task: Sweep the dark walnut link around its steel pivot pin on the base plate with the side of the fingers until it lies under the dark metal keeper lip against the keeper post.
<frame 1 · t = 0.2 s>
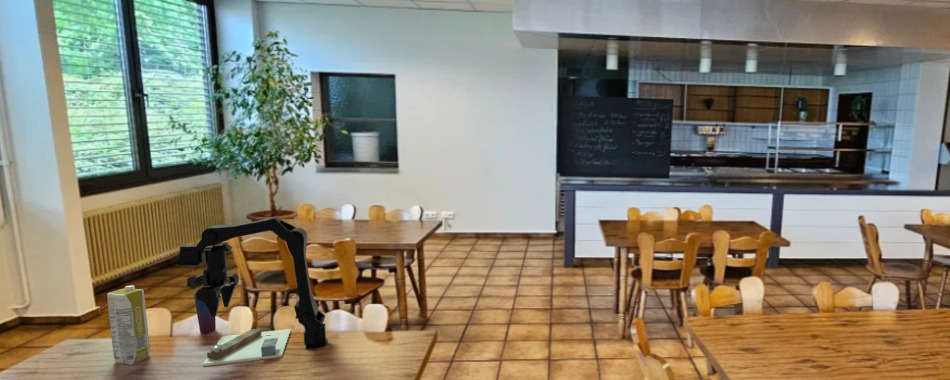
hand: (220, 311, 160), 14 cm above the table, tool pointing down, fingers open, 9 cm apart
juice carton: (132, 360, 159), on the table
link: (235, 343, 165), point 2 cm above the table, hinge at 60.0°
cup: (208, 331, 181), on the table
base plate: (250, 347, 166), on the table
keeper: (270, 354, 160), resting on base plate
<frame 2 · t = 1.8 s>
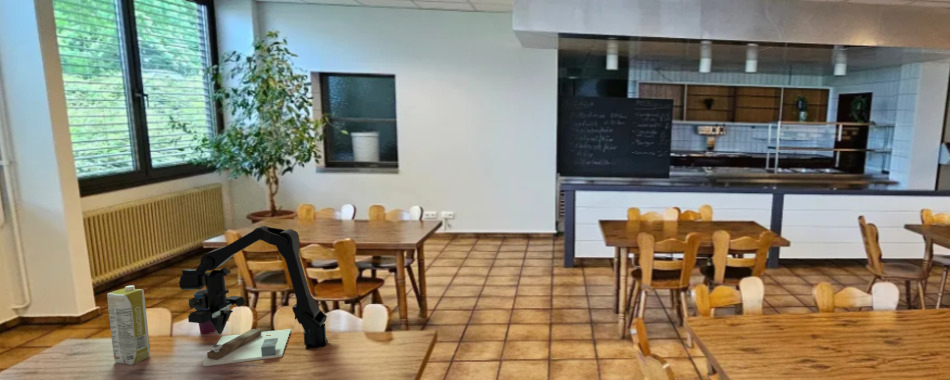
hand: (219, 333, 165), 5 cm above the table, tool pointing down, fingers closed
nothing on the table moved.
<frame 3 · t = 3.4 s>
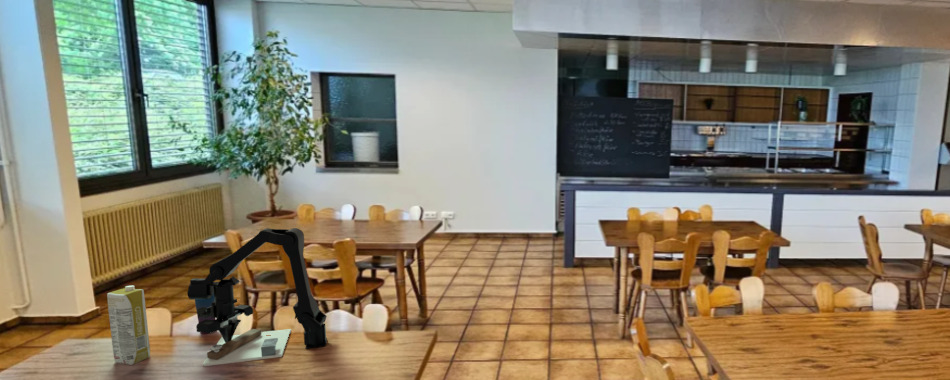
hand: (227, 343, 165), 2 cm above the table, tool pointing down, fingers closed, pressing on link
link: (235, 343, 165), point 2 cm above the table, hinge at 60.0°, touching gripper
everything else where it was.
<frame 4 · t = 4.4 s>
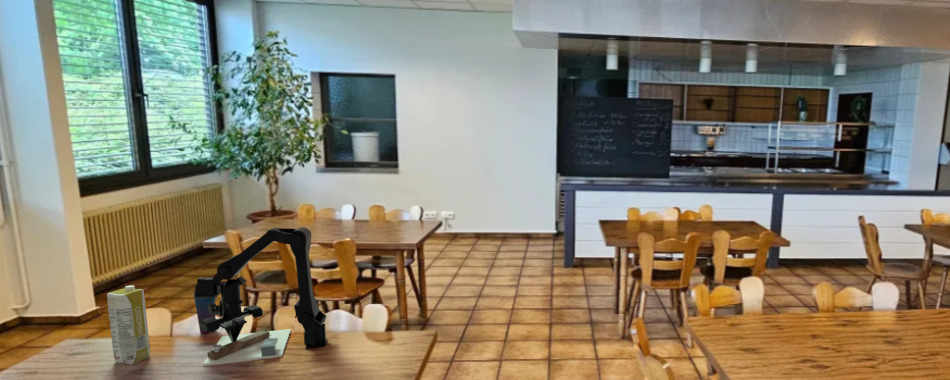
hand: (233, 342, 165), 2 cm above the table, tool pointing down, fingers closed
link: (240, 344, 164), point 2 cm above the table, hinge at 46.0°, touching gripper
everything else where it was.
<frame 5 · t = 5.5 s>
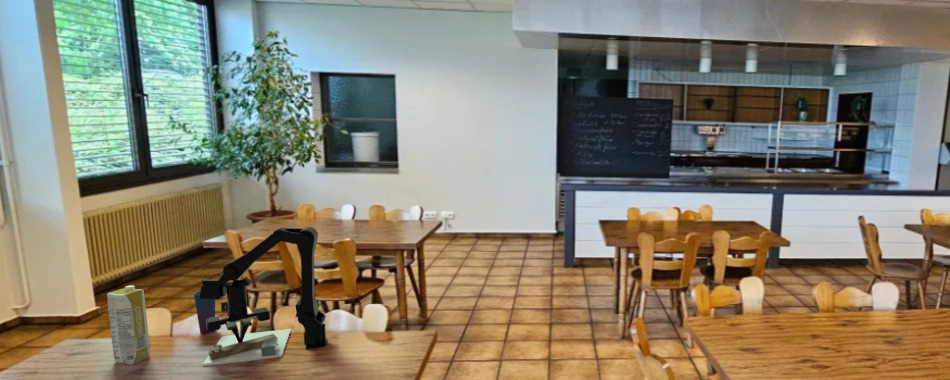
hand: (240, 343, 164), 2 cm above the table, tool pointing down, fingers closed
link: (243, 346, 162), point 2 cm above the table, hinge at 25.4°, touching gripper
everything else where it was.
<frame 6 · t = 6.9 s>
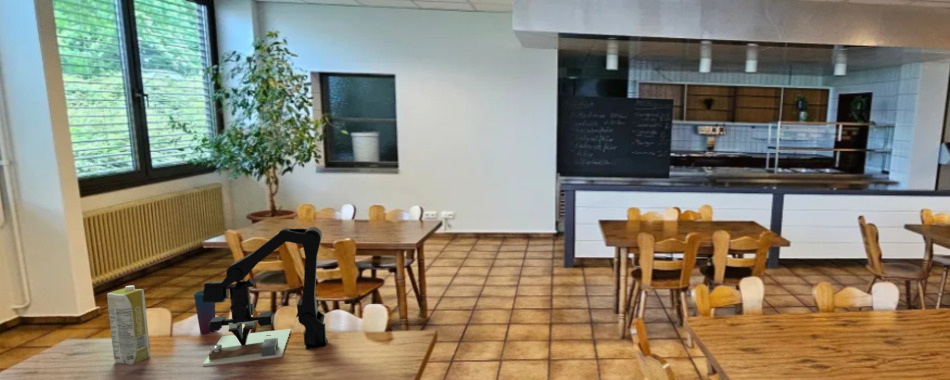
hand: (244, 346, 162), 2 cm above the table, tool pointing down, fingers closed, pressing on link
link: (244, 349, 159), point 2 cm above the table, hinge at 3.8°, touching gripper
everything else where it was.
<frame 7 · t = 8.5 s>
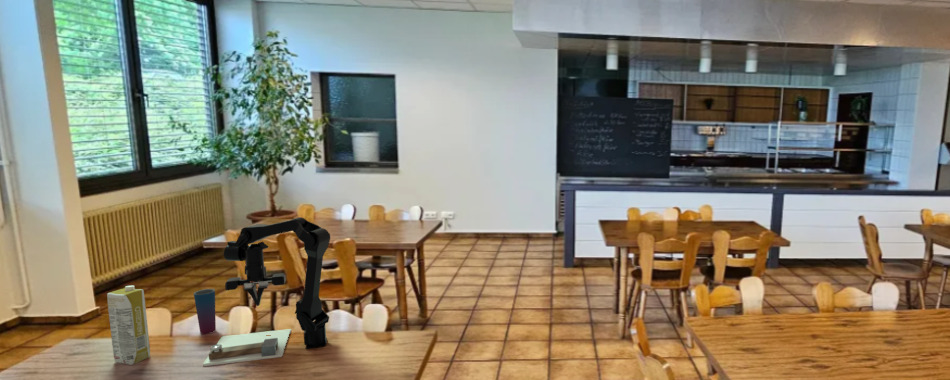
hand: (258, 305, 172), 12 cm above the table, tool pointing down, fingers closed
link: (244, 349, 159), point 2 cm above the table, hinge at 3.5°
everything else where it was.
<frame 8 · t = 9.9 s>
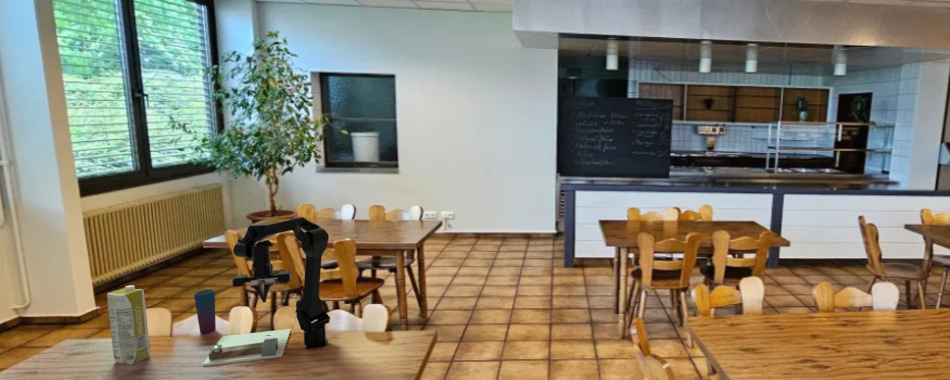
hand: (264, 302, 175), 12 cm above the table, tool pointing down, fingers closed
nothing on the table moved.
at the end: link at +4° (first picture: +60°); the gripper is holding nothing; cup moved 0.2 cm from its start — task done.
